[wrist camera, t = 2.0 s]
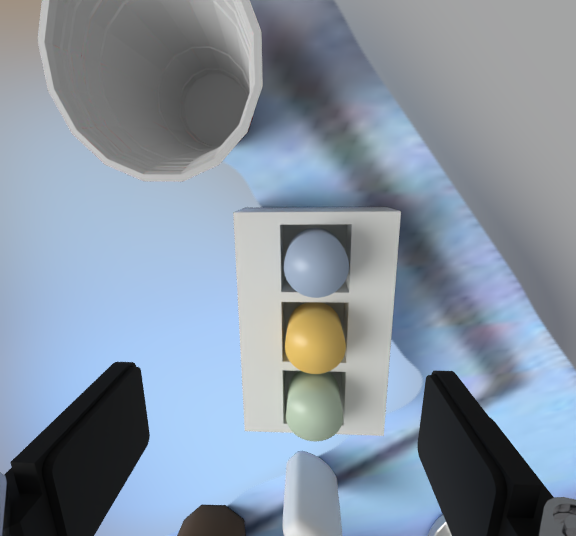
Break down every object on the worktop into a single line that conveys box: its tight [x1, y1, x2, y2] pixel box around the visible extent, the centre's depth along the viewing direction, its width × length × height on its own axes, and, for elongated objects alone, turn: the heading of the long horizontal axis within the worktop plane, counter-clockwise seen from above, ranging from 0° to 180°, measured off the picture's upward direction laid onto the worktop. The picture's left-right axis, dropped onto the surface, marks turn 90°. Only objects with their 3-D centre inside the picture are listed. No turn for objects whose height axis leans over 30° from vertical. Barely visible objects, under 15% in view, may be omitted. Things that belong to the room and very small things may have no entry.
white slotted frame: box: [233, 207, 401, 436], centre depth 28 cm, size 12×19×4 cm, turn 1°
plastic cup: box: [38, 0, 263, 182], centre depth 20 cm, size 11×11×12 cm
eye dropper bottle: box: [283, 451, 342, 536], centre depth 29 cm, size 4×6×12 cm
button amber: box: [285, 302, 346, 374], centre depth 25 cm, size 4×4×4 cm
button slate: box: [284, 228, 349, 298], centre depth 24 cm, size 4×4×4 cm
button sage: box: [286, 371, 343, 441], centre depth 27 cm, size 4×4×4 cm
